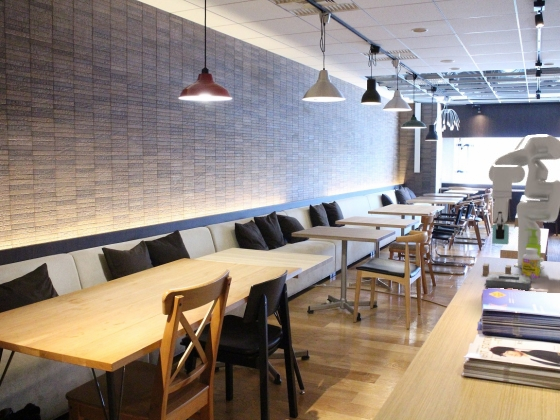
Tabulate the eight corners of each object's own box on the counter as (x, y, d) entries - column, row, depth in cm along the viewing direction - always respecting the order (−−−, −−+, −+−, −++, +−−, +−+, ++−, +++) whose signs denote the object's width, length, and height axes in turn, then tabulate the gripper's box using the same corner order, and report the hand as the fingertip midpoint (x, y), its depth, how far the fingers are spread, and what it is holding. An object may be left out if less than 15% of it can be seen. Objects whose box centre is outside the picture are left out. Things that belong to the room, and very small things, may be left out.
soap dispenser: (526, 271, 245) (527, 227, 243) (542, 274, 240) (543, 229, 238) (520, 273, 241) (522, 229, 239) (537, 276, 236) (538, 230, 234)
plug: (493, 242, 233) (493, 223, 232) (508, 243, 230) (509, 224, 229) (492, 243, 229) (492, 224, 229) (507, 244, 226) (508, 225, 226)
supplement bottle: (519, 278, 231) (520, 249, 230) (525, 276, 236) (525, 247, 235) (536, 281, 227) (537, 250, 226) (541, 278, 232) (542, 248, 230)
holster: (483, 273, 243) (483, 262, 243) (512, 275, 238) (512, 264, 237) (480, 277, 234) (481, 266, 234) (510, 280, 229) (511, 268, 228)
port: (489, 279, 230) (489, 272, 230) (531, 283, 223) (531, 275, 222) (485, 287, 217) (485, 279, 217) (529, 291, 210) (529, 282, 210)
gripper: (494, 194, 237) (493, 235, 238) (489, 195, 222) (488, 240, 224) (513, 194, 233) (512, 236, 235) (509, 196, 219) (508, 241, 220)
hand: (500, 237), depth 229 cm, fingers closed on plug, 4 cm apart
